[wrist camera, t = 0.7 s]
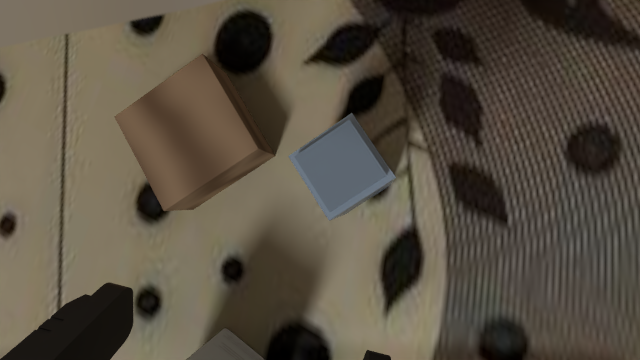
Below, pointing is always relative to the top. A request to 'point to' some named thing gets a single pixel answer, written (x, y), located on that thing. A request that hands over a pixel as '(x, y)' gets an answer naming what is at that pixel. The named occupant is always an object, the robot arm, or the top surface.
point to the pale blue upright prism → (342, 168)
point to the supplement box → (225, 349)
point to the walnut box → (193, 136)
